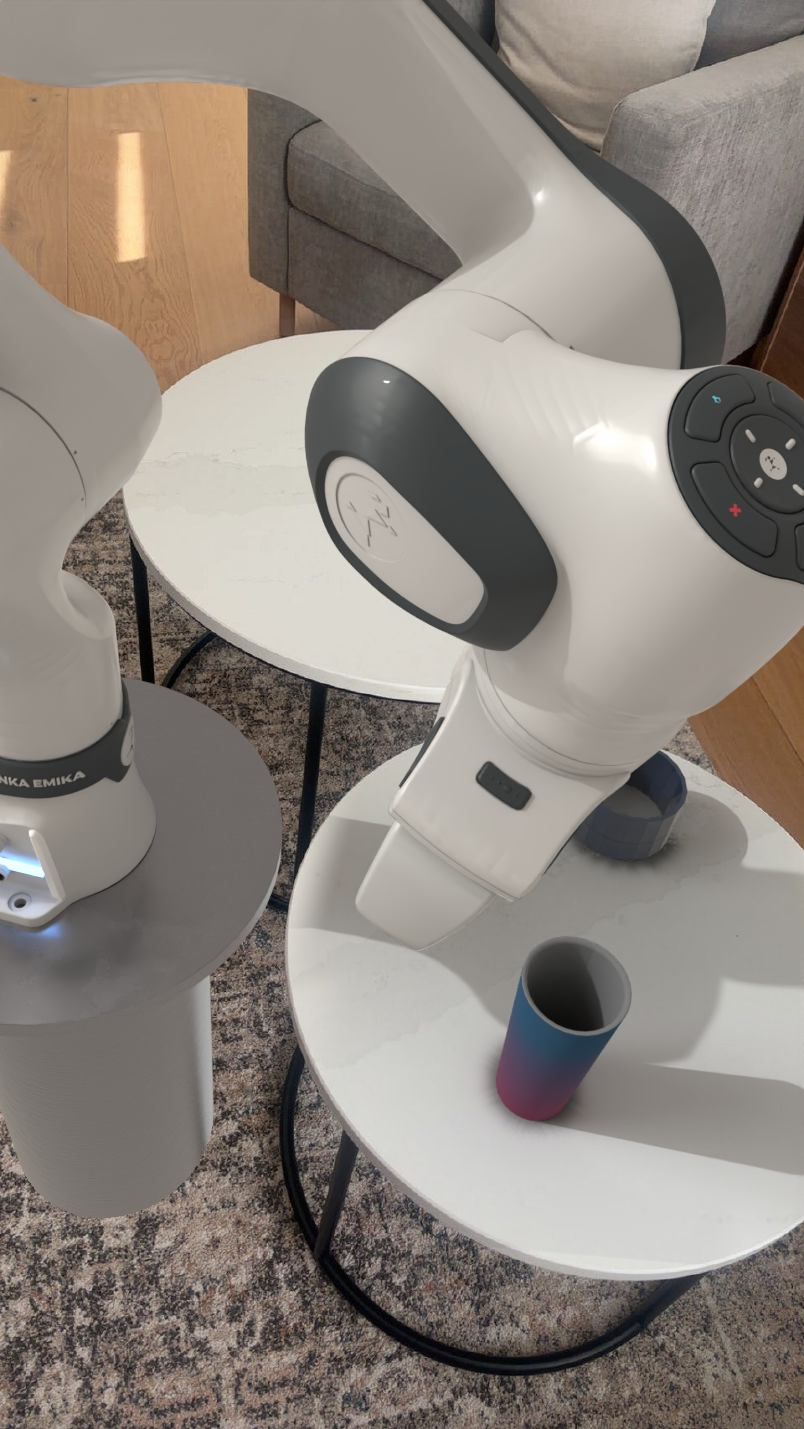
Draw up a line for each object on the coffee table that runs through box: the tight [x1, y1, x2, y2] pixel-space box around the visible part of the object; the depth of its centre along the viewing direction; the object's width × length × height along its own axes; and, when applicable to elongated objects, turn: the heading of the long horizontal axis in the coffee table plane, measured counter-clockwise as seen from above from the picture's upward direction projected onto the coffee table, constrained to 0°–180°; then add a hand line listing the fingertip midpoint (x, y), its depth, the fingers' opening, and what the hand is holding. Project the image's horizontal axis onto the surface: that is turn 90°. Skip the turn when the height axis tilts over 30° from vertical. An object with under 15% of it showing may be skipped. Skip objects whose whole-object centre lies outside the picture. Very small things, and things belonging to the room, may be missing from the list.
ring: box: [574, 750, 688, 862], centre depth 93 cm, size 9×9×6 cm
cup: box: [495, 935, 633, 1122], centre depth 72 cm, size 7×7×15 cm
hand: (457, 803), depth 58 cm, fingers open, 8 cm apart
